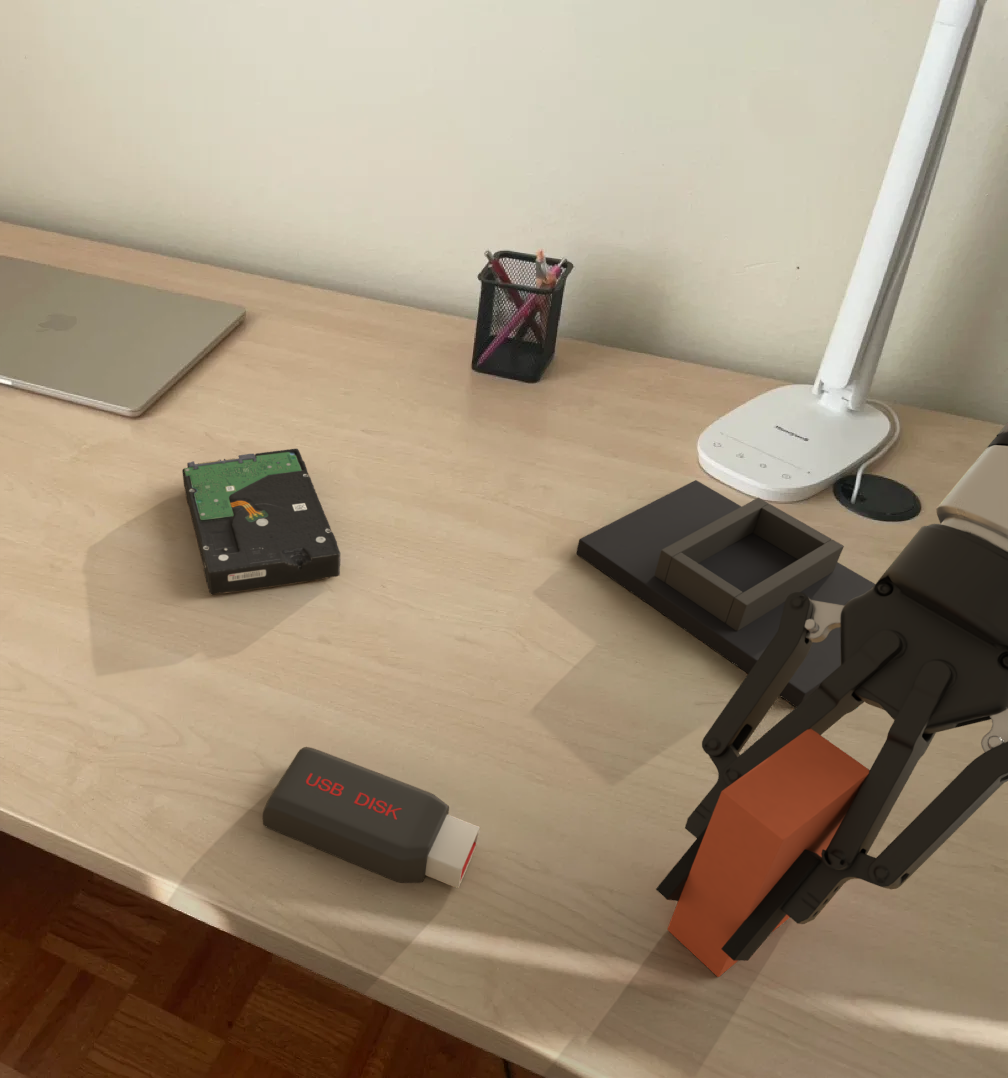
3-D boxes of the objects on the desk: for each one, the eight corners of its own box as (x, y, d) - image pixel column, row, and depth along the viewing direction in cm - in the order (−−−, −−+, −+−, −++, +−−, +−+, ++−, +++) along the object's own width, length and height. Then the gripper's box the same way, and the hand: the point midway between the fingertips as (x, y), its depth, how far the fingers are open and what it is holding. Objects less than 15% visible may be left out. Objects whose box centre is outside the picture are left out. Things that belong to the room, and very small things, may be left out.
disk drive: (343, 580, 81) (298, 471, 92) (344, 552, 79) (298, 444, 91) (210, 601, 79) (180, 487, 91) (208, 573, 78) (178, 460, 89)
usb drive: (300, 764, 67) (300, 735, 65) (481, 834, 63) (486, 805, 61) (262, 825, 63) (261, 796, 62) (451, 905, 59) (456, 876, 57)
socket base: (916, 626, 77) (936, 585, 74) (798, 709, 70) (816, 667, 68) (691, 493, 90) (703, 454, 87) (575, 553, 83) (584, 513, 81)
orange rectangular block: (798, 909, 59) (871, 770, 51) (718, 977, 56) (783, 840, 48) (747, 866, 61) (809, 727, 54) (666, 929, 58) (721, 790, 50)
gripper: (1186, 676, 49) (860, 1050, 52) (861, 504, 60) (606, 823, 63) (1195, 639, 44) (829, 1061, 47) (835, 456, 54) (556, 809, 57)
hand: (701, 923), depth 55 cm, fingers closed on orange rectangular block, 3 cm apart
